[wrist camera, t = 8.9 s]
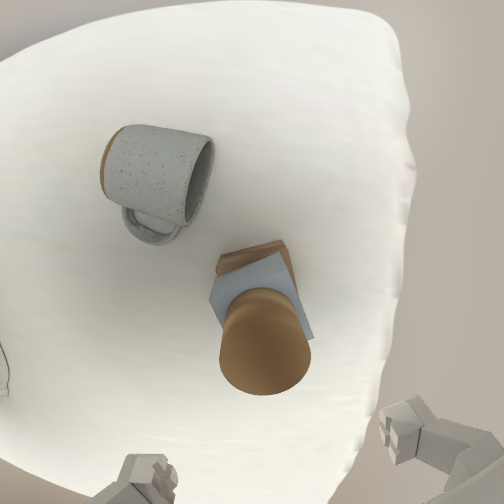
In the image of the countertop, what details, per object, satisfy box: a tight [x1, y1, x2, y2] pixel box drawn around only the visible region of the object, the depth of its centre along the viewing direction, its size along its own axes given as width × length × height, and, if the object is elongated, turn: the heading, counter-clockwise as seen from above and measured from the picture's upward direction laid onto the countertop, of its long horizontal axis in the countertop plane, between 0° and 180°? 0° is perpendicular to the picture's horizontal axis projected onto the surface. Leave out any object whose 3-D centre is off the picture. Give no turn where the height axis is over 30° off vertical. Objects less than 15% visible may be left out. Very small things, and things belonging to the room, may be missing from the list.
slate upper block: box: [209, 252, 314, 341], centre depth 22 cm, size 6×6×5 cm
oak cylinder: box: [219, 287, 311, 395], centre depth 17 cm, size 5×5×5 cm
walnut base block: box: [216, 240, 299, 297], centre depth 27 cm, size 6×6×5 cm
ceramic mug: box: [100, 125, 214, 245], centre depth 24 cm, size 11×8×8 cm
